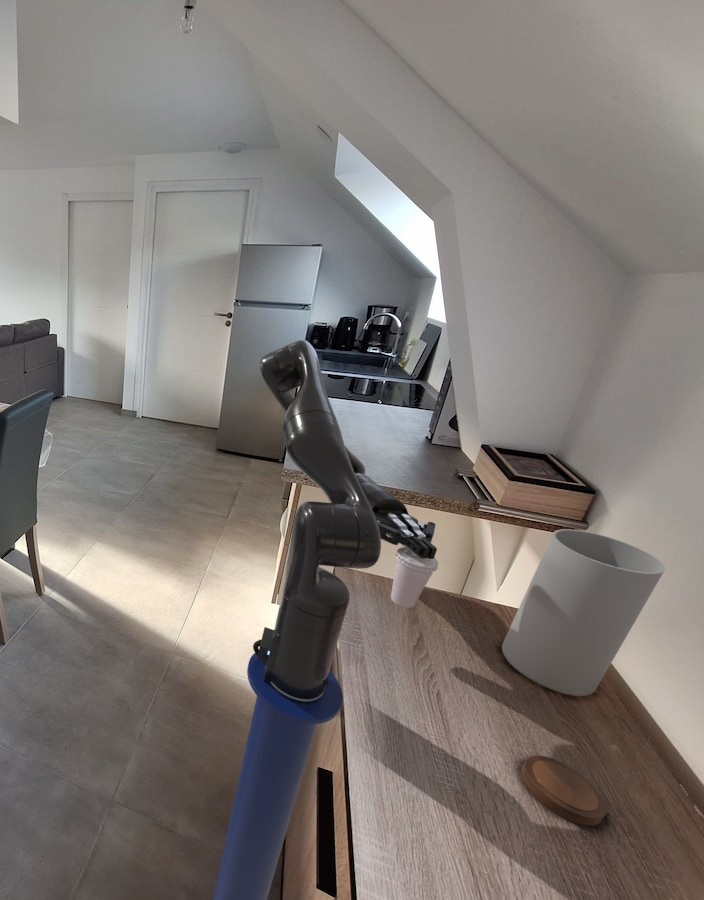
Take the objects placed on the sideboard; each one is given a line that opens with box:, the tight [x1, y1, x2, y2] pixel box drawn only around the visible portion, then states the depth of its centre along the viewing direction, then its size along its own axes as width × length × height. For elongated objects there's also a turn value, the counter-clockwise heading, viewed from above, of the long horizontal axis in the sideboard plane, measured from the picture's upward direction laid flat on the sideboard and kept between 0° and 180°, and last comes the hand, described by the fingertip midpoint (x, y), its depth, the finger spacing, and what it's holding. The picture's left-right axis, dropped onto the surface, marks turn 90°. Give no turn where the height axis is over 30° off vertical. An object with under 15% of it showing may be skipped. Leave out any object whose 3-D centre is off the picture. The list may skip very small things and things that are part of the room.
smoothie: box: [390, 534, 439, 609], centre depth 81 cm, size 6×6×14 cm
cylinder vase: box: [501, 528, 666, 697], centre depth 77 cm, size 12×12×25 cm
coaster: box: [520, 755, 608, 827], centre depth 61 cm, size 8×8×2 cm
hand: (429, 554), depth 76 cm, fingers closed on smoothie, 1 cm apart
